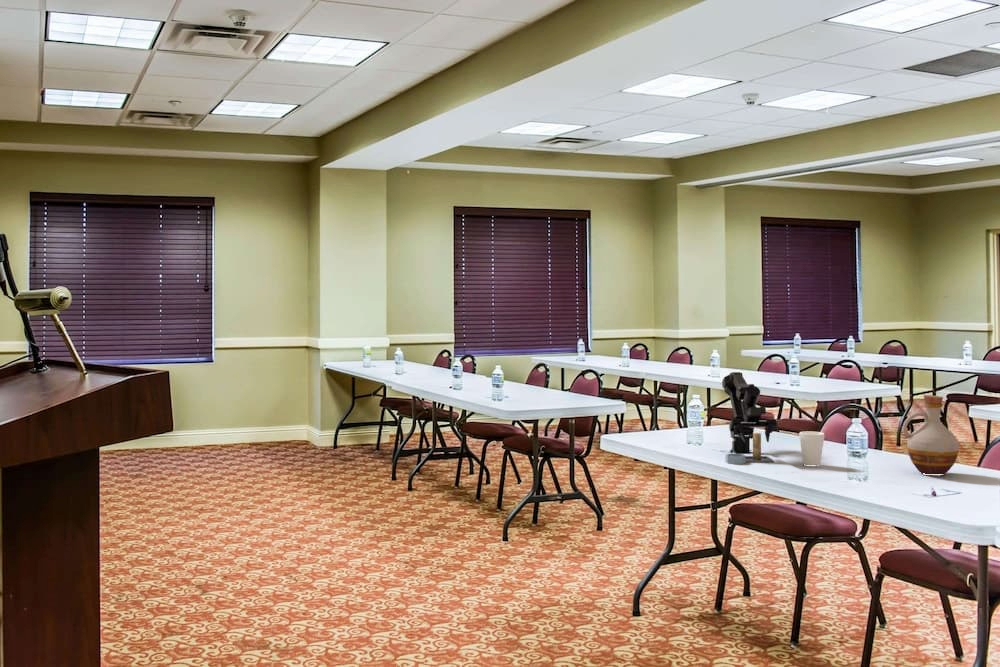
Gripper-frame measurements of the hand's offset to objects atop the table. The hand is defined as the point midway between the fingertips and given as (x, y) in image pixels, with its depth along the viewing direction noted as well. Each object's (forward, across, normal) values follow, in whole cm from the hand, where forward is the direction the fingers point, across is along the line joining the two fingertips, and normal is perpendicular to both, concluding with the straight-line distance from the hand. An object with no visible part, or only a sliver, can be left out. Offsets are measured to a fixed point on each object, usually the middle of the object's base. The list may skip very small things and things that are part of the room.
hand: (756, 441), depth 373 cm
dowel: (+6, 0, +5) cm, 8 cm away
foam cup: (+11, +20, +2) cm, 23 cm away
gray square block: (+10, -10, +2) cm, 14 cm away
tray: (+6, 0, +6) cm, 9 cm away
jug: (+24, +59, -12) cm, 65 cm away
